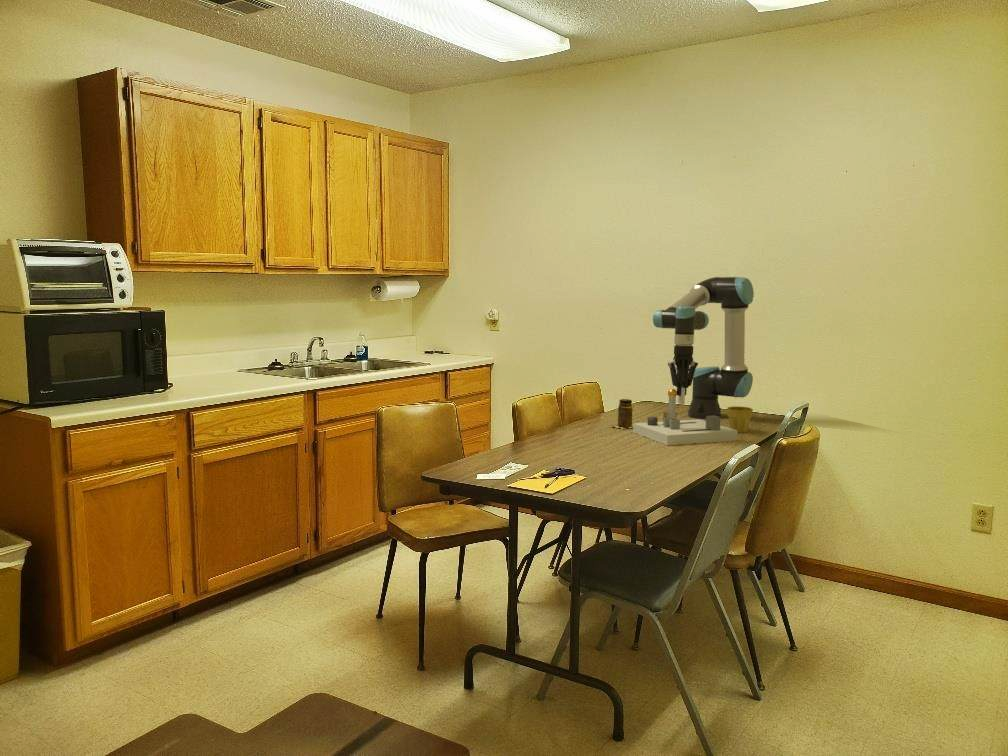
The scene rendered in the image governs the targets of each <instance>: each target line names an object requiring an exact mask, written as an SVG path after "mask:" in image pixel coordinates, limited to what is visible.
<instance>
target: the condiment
mask: <svg viewBox="0 0 1008 756" xmlns="http://www.w3.org/2000/svg"><path fill="white" fill-rule="evenodd" d="M632 402H633V401H632V399H628V398H622V399H619V404H618V408H617V426H619V427H623V428H629V427H633V409H634V407H633V403H632Z"/></svg>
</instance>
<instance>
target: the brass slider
mask: <svg viewBox="0 0 1008 756" xmlns="http://www.w3.org/2000/svg"><path fill="white" fill-rule="evenodd" d="M668 411H669V410H663V411H662V412H663V414H662V415H663V416H662V417H663V418H662V419H663V420H662V422H663V423H664V418H668ZM675 420H678V412H677V411H676V413H675Z"/></svg>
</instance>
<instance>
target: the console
mask: <svg viewBox="0 0 1008 756" xmlns="http://www.w3.org/2000/svg"><path fill="white" fill-rule="evenodd" d="M658 419H659V417H657V416H647V422H638V423H637V422H636V423H633V422H632V427H633V428H632V429H633V430H632V431H633V432H634V433H633V432H632V433H633V434H635V433H637V434H639V435H638V436H640V435H642V436H641V437H643V436H645V437H647V438H646V439H648V438H650V439H649V440H651V439H652V440H651V441H653V440H655V441H654V442H656V441H658V442H657V443H659V442H660V443H659V444H661V443H663V444H662V445H664V444H665V446H667V445H670V446H679V445H678V444H683V445H692V444H693V443H696V444H705V443H706V442H709V443H721V442H720V441H722V442H733V441H732V440H736V441H737V440H738V432H737V430H734V429H731V427H726V426H723V425H720V430H710V429H706V420H703V419H701V418H696V419H685V420H684V419H682V420H680V419H677V420H670V424H668V418H664V423H663V421H658ZM637 434H636V435H637ZM645 437H644V438H645ZM706 444H707V443H706ZM693 445H694V444H693Z"/></svg>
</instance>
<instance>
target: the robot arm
mask: <svg viewBox="0 0 1008 756" xmlns="http://www.w3.org/2000/svg"><path fill="white" fill-rule="evenodd" d="M754 296H755V292H754V287H753V283H752V282H751V280H750V279H749V278H748V277H744V276H743V277H740V276H726V277H725V276H717V277H715V276H714V277H710V278H707V279H704V280H703V281H700V282H698V283H696V284H695V285H693V286H692V287H691V289H690V290H689V292H688V293H687V294H685V295H684V296H682V297H681V298H680V299H678V300H677V301H675V302H674V303H673V304H672V305H669V307H667V308H666V309H657V310H655V312H654V313H653V315H652V324H653V326H654V327H656V328H659V329H673V330H674V341H673V344H674V346H673V359H672V361H670V362H669V361H668V363H667V366H668V367H669V372H670V377H671V383H672V386H674V387H675V388H676V391H677V404H680V405H685V401H686V399H685V397H686V396H687V391H688V390H687V389H688V388H689V387H691V386H692V398H691V402H690V404H689V408H688V410H687V416H688V417H691V418H696V419H705V420H706V416H714V415H715V416H718V417H722V411H721V407H720V404H719V396H723V397H732V398H742V399H743V398H745V397H747V396H748V395H749V393H750V392H751V389H752V387H753V382H754V377H753V374H752V373H751V371H750V372H749V367H748V366H747V365H746V364H745V348H746V347H745V346H746V345H745V339H746V338H745V337H746V336H745V333H746V331H745V330H746V329H745V328H746V327H745V325H746V323H745V321H746V318H745V317H746V315H745V313H746V310H747V309H749V305H750V304H752V303H753V300H754ZM707 304H720V305H721V306H720V308H721V309H722V310H723V312H724V364H723V365H722V366H721V367H719V366H705V367H704V366H703V367H702V366H701V367H698V366H699V363H698V362H695V361H694V357H693V355H694V346H693V345H694V341H695V331H701V330H704V329H706V328H707V327H708V325H709V322H710V318H709V315H708V314H707V313H706V312H705V311H700V310H696V309H698V308H699V307H701V306H705V305H707Z"/></svg>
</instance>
